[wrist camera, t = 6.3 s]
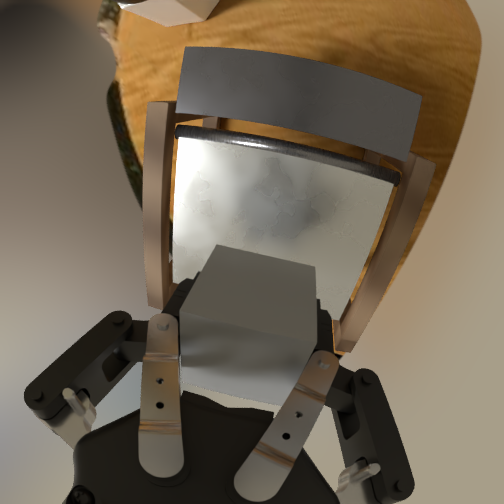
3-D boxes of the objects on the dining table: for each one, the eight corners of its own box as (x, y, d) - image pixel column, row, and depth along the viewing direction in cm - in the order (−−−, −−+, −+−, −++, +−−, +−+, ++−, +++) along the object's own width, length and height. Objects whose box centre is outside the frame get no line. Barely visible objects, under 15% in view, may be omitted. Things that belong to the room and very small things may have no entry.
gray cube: (216, 244, 14) (179, 310, 10) (315, 266, 14) (316, 342, 9) (209, 315, 16) (182, 382, 12) (290, 334, 16) (283, 406, 12)
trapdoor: (201, 58, 16) (172, 46, 12) (404, 101, 15) (434, 101, 11) (181, 263, 25) (159, 296, 21) (339, 299, 24) (344, 339, 20)
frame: (209, 100, 26) (147, 102, 15) (382, 138, 25) (436, 164, 14) (194, 239, 35) (148, 305, 24) (339, 272, 34) (350, 352, 23)
